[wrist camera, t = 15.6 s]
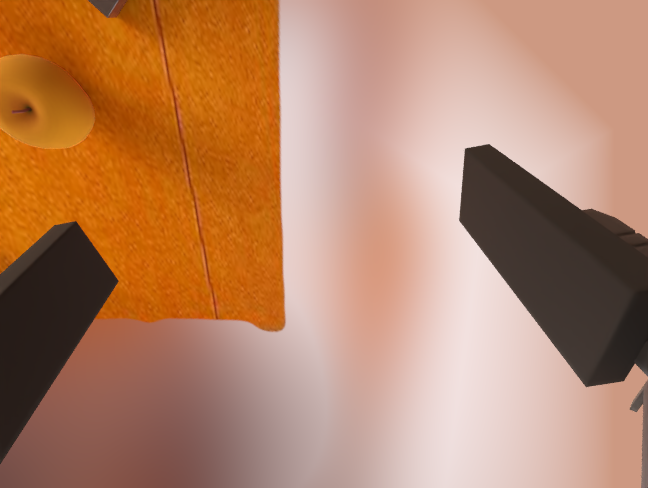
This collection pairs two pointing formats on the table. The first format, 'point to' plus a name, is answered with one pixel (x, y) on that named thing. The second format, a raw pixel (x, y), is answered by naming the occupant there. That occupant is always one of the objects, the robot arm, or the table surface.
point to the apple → (42, 103)
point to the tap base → (109, 6)
